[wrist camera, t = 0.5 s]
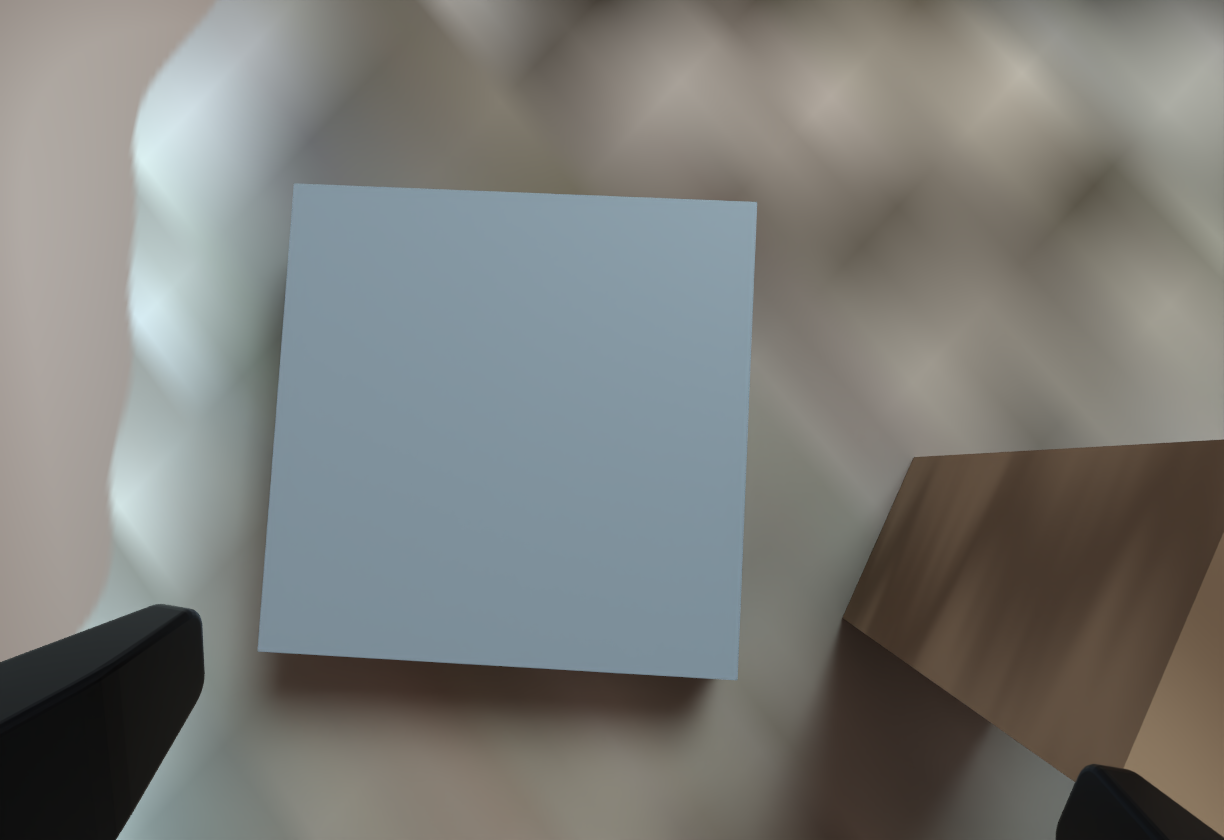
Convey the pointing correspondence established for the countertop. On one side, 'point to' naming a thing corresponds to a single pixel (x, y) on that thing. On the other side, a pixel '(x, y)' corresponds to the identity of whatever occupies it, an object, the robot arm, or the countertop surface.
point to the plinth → (512, 430)
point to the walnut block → (1068, 603)
